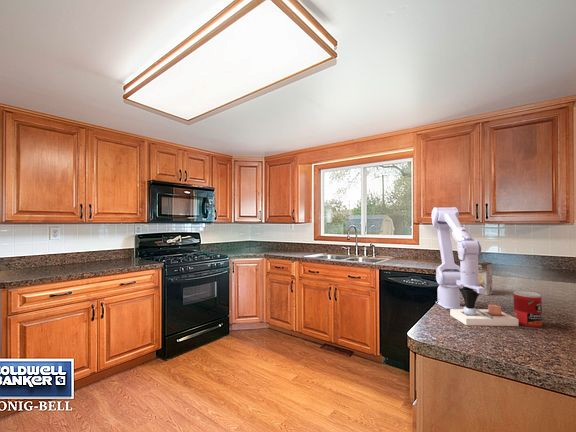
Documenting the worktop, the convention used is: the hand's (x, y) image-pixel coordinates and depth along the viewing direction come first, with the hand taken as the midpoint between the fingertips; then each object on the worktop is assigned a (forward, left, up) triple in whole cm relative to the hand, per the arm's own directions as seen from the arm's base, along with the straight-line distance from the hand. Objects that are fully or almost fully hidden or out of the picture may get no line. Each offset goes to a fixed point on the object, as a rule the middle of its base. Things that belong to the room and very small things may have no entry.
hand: (469, 308), depth 106 cm
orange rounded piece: (0, +9, -3) cm, 9 cm away
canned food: (+3, +19, -5) cm, 19 cm away
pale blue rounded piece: (0, 0, -3) cm, 3 cm away
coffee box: (-42, +30, -5) cm, 52 cm away
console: (0, +5, -4) cm, 6 cm away
